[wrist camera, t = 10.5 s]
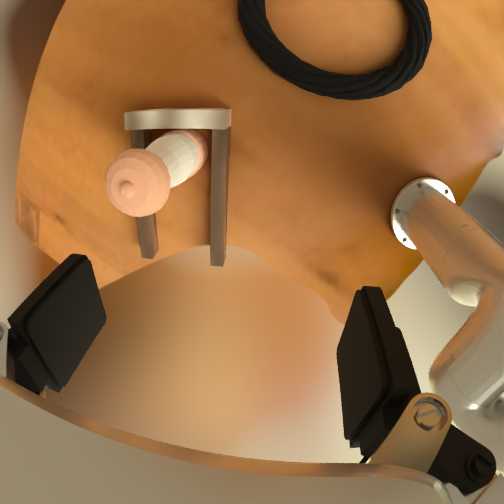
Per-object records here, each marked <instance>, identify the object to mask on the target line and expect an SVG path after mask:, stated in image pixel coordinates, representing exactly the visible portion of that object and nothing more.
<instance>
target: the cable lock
mask: <svg viewBox="0 0 504 504" xmlns="http://www.w3.org/2000/svg"><path fill="white" fill-rule="evenodd" d="M401 1H402V2H403V5H404V8H405V11H406V14H407V17H408V25H409V28H408V34H407V40H406V46H405V48H404V50H403V51H402V52H401V53H400V54H399V55H398V56H397V57H396V59H395V60H394V61H393V62H392V63H391V64H390V65H389V66H387V67H384V68H381V69H379V70H376V71H374V72H371V73H368V74H362V75H344V74H338V73H331V72H327V71H324V70H321V69H319V68H317V67H315V66H313V65H311V64H308V63H306V62H304V61H302V60H300V59H299V58H298V57H297V56H296V55H294V54H293V53H292V52H291V51H289V50H288V49H287V48H286V47H285V46H284V45H283V44H282V43H281V42H280V41H279V40H278V38H277V37H276V35H275V34H274V32H273V31H272V29H271V27H270V24H269V22H268V20H267V18H266V11H265V1H264V0H239V1H238V15H239V21H240V23H241V25H242V28H243V32H244V35H245V36H246V38H247V40H248V42H249V44H250V46H251V48H252V49H253V50H254V51H255V52H256V53H257V54H258V55H259V56H260V58H261V59H262V61H264V62H265V63H266V64H267V65H268V66H269V67H270V68H271V69H272V70H273V71H274V72H275V73H277V74H279V75H280V76H282V77H283V78H285V79H286V80H288V81H289V82H291V83H293V84H295V85H297V86H299V87H301V88H302V89H305V90H307V91H310V92H313V93H316V94H318V95H322V96H328V97H332V98H336V99H346V100H360V99H370V98H374V97H379V96H384V95H386V94H388V93H391V92H393V91H395V90H398V89H400V88H401V87H402V86H403V85H404V84H405V83H407V82H409V81H410V80H412V79H413V78H414V76H415V75H416V74H417V73H418V72H419V71H420V70H421V68H422V67H423V65H424V62H425V59H426V57H427V54H428V51H429V47H430V44H431V40H432V33H431V21H430V17H429V12H428V7H427V5H426V3H425V1H424V0H401Z"/></svg>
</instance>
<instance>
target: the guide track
mask: <svg viewBox="0 0 504 504" xmlns="http://www.w3.org/2000/svg"><path fill="white" fill-rule="evenodd" d="M231 113H232V109H225V108H167V109H146V110H136V111H131V112H126V113H124V115H125V130H131V142H132V149H144V150H145V149H146V148H147V147H148V146H149V145H150V144H151V143H152V129H212V157H211V211H210V256H211V257H210V258H211V265H213V266H222V267H223V264H224V261H225V258H226V229H227V199H228V174H229V152H230V132H231ZM137 224H138V232H139V241H140V248H141V255H142V258H148V259H153V257H154V256H155V254H156V253H157V252H158V240H157V229H156V218H155V213H153V214H151V215H148V216H143V217H137Z"/></svg>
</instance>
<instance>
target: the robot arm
mask: <svg viewBox="0 0 504 504" xmlns="http://www.w3.org/2000/svg"><path fill="white" fill-rule="evenodd" d="M396 209H397V210H396ZM390 218H391V226H392V230H393V232H394V234H395V236H396V237H397V239H398V240H399V241H400V242H401V243H402V244H403V245H405V246H406V247H409V248H412V249H417V250H418V251H419V253H420V254H421V256H422V257H423V258H424V260H425V261H426V262H427V264H428V265H429V267H430V268H431V270H432V271H433V272H434V274H435V275H436V277H437V278H438V280H439V281H440V283H441V284H442V285H443V287H444V288H445V290H446V292H447V293H448V294H449V295H450V297H451V298H453V299H454V300H455V301H457V302H458V303H460V304H464V305H467V306H474V307H476V308H475V309H474V311H473V312H472V314H471V315H470V316H469V318H468V320H467V321H466V322H465V323H464V325H463V326H462V327H461V328H460V329H459V331H458V332H457V333H456V334H455V336H454V337H453V338H452V339H451V340H450V341H449V342H448V343H447V345H446V346H445V347H444V348H443V349H442V350H441V351H440V352H439V354H438V355H437V356H436V357H435V359H434V360H433V362H432V364H431V366H430V369H429V384H430V387H431V390H432V392H433V393H421V391H420V387H419V384H418V380H417V377H416V374H415V371H414V368H413V365H412V361H411V358H410V355H409V352H408V349H407V347H406V344H405V341H404V338H403V335H402V332H401V330H400V329H399V328H398V327H395V324H394V321H393V318H392V316H391V313H390V311H389V308H388V305H387V302H386V300H385V297H384V295H383V292H382V290H381V288H380V287H373V286H363V287H362V289H361V290H357V291H356V293H355V296H354V299H353V302H352V305H351V308H350V312H349V315H348V318H347V321H346V324H345V327H344V330H343V333H342V335H341V338H340V341H339V344H338V347H337V364H338V373H339V382H340V392H341V402H342V414H343V427H344V437H345V439H346V440H350V448H355V447H356V448H357V447H360V450H361V455H363V457H362V458H361V459H360V460H359V462H358V463H301V462H284V461H272V460H260V459H251V458H242V457H235V456H227V455H221V454H215V453H209V452H204V451H199V450H193V449H189V448H184V447H180V446H176V445H172V444H168V443H164V442H160V441H156V440H152V439H149V438H145V437H142V436H139V435H135V434H132V433H129V432H126V431H123V430H120V429H116V428H114V427H111V426H108V425H106V424H103V423H100V422H97V421H95V420H92V419H90V418H87V417H85V416H82V415H80V414H78V413H75V412H73V411H71V410H68V409H66V408H64V407H62V406H60V405H57V404H55V403H53V402H51V401H49V400H47V399H46V397H45V390H44V387H45V385H47V386H48V387H49V388H50V389H52V390H54V391H56V392H60V390H61V389H62V387H63V386H66V384H67V383H68V381H69V380H70V378H71V376H72V374H73V373H74V371H75V370H76V368H77V366H78V365H79V363H80V361H81V360H82V358H83V357H84V355H85V353H86V352H87V350H88V349H89V347H90V345H91V344H92V342H93V341H94V339H95V338H96V336H97V335H98V333H99V332H100V330H101V329H102V327H103V326H104V324H105V322H106V313H105V310H104V307H103V303H102V300H101V297H100V294H99V290H98V286H97V283H96V279H95V275H94V272H93V268H92V264H91V261H90V260H88V257H87V256H85V255H81V254H71V255H70V256H69V257H68V258H66V259H65V260H64V261H63V262H62V263H61V264H60V265H59V266H58V267H57V268H56V269H55V270H54V271H53V272H52V273H51V274H50V275H49V276H48V277H47V278H46V279H45V280H44V281H43V282H42V283H41V284H40V285H39V286H38V287H37V288H36V289H35V290H34V291H33V292H32V293H31V294H30V295H29V296H28V297H27V298H26V300H24V302H23V303H22V304H21V305H20V306H19V307H18V308H17V309H16V310H15V311H14V313H13V314H12V315H11V316H10V317H9V318H8V322H9V324H10V326H11V328H10V329H8V328H7V326H6V324H4V323H2V322H0V504H504V477H503V476H502V474H501V473H499V474H498V475H496V473H495V472H496V470H499V471H502V472H504V396H503V395H501V394H502V393H503V392H504V244H502V243H501V242H500V241H499V240H498V239H497V238H495V236H493V235H492V234H491V233H490V232H489V231H488V230H486V229H485V228H484V227H483V226H482V225H481V224H480V223H478V222H477V221H476V220H475V219H474V218H473V217H471V216H470V215H469V214H468V213H466V212H465V211H464V210H463V209H462V208H460V207H459V206H458V205H457V204H455V199H454V196H453V194H452V192H451V190H450V189H449V188H448V187H447V186H446V185H445V184H444V183H443V182H441V181H439V180H437V179H435V178H431V177H423V178H418V179H416V180H413V181H411V182H410V183H408V184H407V185H406V186H405V187H404V188H403V189H402V190H401V191H400V192H399V194H398V195H397V196H396V198H395V200H394V203H393V206H392V209H391V216H390ZM452 420H453V421H454V423H455V424H456V425H457V426H458V427H459V429H460V430H459V429H458V428H456V427H455V426H453V425H452V424H451V421H452Z"/></svg>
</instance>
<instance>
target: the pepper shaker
mask: <svg viewBox="0 0 504 504" xmlns="http://www.w3.org/2000/svg"><path fill="white" fill-rule="evenodd" d="M207 157H208V146H207V143H206V140H205V139H204V137H203V136H202V135H201V134H200V133H199V132H198V131H196V130H194V129H174V130H172V131H169V132H167V133H165V134H164V135H162V136H161V137H160V138H158V139H156V140H155V141H154V142H152V143H151V144H150V145H149V146H148V147H147V148H146V149H145V150H144V149H129V150H126V151H123V152H121V153H120V154H119V155H118V156H117V157H115V158H114V160H113V161H112V163H111V164H110V166H109V168H108V169H107V174H106V191H107V194H108V196H109V199H110V200H111V202H112V203H113V205H114V206H115V207H116V208H117V209H119V210H120V211H121V212H123V213H125V214H127V215H130V216H134V217H143V216H148V215H151V214H153V213H155V212H156V211H158V210H160V209H161V208H162V206H163V205H164V204H165V202H166V201H167V198H168V195H169V192H170V188H172V187H174V186H176V185H179V184H180V183H182V182H184V181H185V180H186V179H188V178H190V177H191V176H193V175H194V174H196V173H197V172H198V171H199V170H200V168H201V167H202V166H203V165H204V164H205V162H206V159H207Z"/></svg>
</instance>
